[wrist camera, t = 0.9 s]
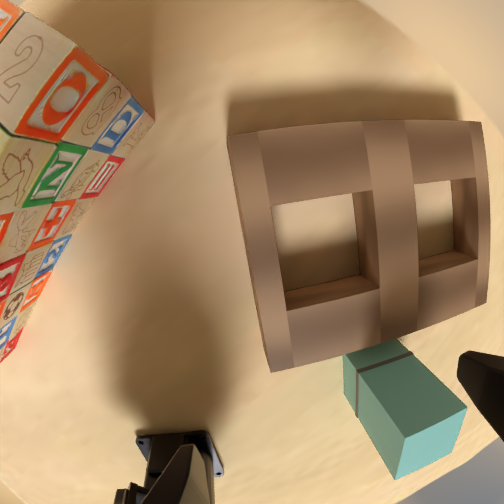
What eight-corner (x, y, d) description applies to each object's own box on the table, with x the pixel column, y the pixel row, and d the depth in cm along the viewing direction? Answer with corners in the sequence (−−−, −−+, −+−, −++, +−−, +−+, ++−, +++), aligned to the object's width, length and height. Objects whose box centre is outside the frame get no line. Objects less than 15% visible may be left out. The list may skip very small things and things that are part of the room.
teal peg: (390, 378, 24) (452, 452, 14) (343, 394, 23) (393, 480, 14) (393, 334, 23) (468, 406, 13) (341, 350, 22) (404, 438, 13)
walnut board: (464, 291, 23) (486, 302, 20) (263, 349, 22) (270, 372, 19) (456, 125, 20) (481, 121, 17) (226, 142, 18) (228, 135, 15)
